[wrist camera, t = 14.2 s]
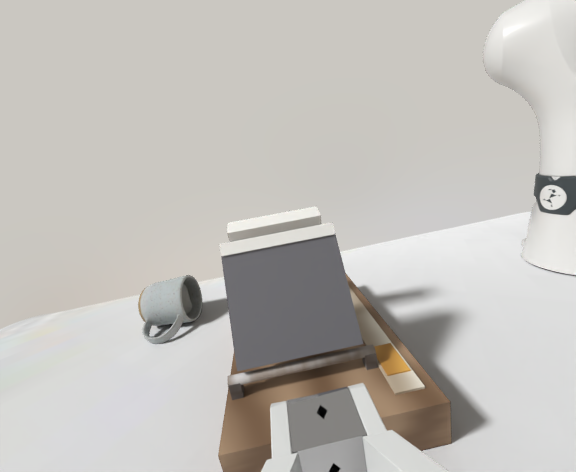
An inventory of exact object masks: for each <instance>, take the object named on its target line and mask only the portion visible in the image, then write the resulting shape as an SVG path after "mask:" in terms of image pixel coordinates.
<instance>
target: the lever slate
mask: <svg viewBox="0 0 576 472" xmlns="http://www.w3.org/2000/svg"><path fill="white" fill-rule="evenodd" d="M320 224H321V215H320V213H319V211H318V209H317V207H316V206H315V207H310V208H304V209H299V210H294V211H288V212H283V213H278V214H273V215H267V216H263V217H257V218H252V219H246V220H241V221H236V222H231V223H228V229H227V234H228V237H229V240H230V242H232V241H237V240H242V239H248V238H253V237H258V236H263V235H268V234H273V233H279V232H284V231H289V230H294V229H299V228H305V227H310V226H315V225H320Z"/></svg>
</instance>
